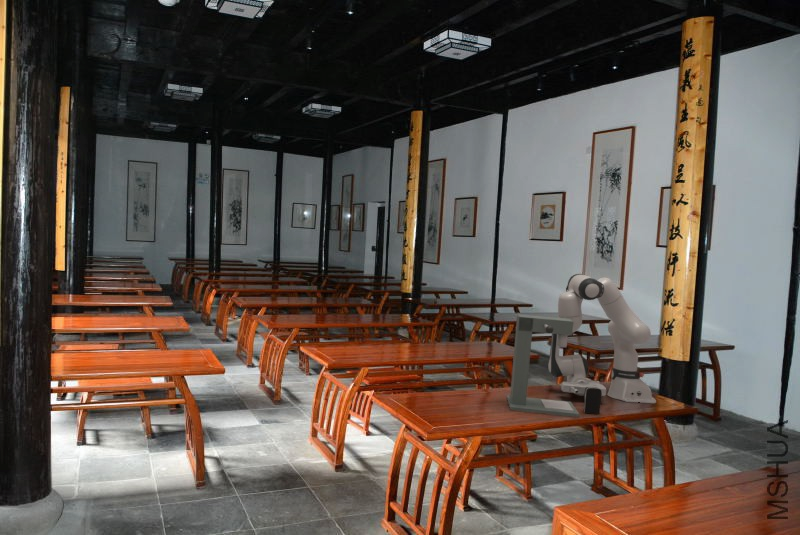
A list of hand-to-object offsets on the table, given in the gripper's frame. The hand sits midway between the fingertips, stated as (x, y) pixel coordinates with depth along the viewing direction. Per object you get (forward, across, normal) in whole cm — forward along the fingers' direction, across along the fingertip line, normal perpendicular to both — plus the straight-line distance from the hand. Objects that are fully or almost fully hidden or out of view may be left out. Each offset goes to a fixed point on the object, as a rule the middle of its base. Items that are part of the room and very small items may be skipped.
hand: (586, 392), depth 270 cm
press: (+15, -21, +6) cm, 27 cm away
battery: (+11, 0, +6) cm, 13 cm away
